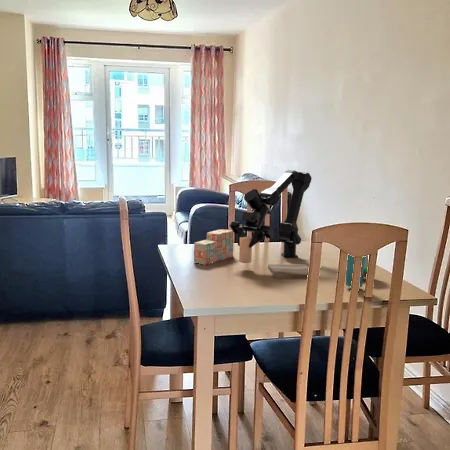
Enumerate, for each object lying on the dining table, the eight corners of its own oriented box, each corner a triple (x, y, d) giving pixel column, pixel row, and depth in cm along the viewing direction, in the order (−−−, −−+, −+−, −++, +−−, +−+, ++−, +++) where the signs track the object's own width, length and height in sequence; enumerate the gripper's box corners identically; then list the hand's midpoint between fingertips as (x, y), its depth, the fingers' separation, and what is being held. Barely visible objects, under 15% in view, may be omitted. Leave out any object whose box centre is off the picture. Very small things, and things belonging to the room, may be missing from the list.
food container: (375, 283, 201) (376, 257, 200) (358, 281, 203) (360, 256, 201) (372, 274, 213) (374, 250, 211) (357, 273, 214) (358, 249, 213)
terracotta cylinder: (238, 260, 219) (239, 236, 217) (250, 259, 220) (250, 236, 218) (240, 263, 214) (240, 239, 212) (252, 262, 215) (252, 238, 213)
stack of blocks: (205, 266, 223) (205, 237, 221) (193, 263, 226) (193, 235, 224) (233, 256, 240) (233, 230, 238) (221, 254, 244) (222, 228, 242)
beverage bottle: (351, 292, 189) (355, 237, 185) (340, 287, 195) (343, 234, 191) (366, 290, 191) (370, 236, 188) (355, 285, 197) (358, 233, 194)
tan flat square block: (268, 268, 221) (268, 264, 220) (305, 267, 222) (305, 264, 222) (275, 278, 205) (275, 274, 205) (315, 278, 207) (316, 274, 206)
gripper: (232, 202, 221) (217, 232, 214) (271, 206, 211) (256, 237, 204) (242, 218, 229) (227, 247, 222) (280, 222, 219) (266, 253, 212)
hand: (243, 246), depth 215 cm, fingers closed on terracotta cylinder, 5 cm apart
